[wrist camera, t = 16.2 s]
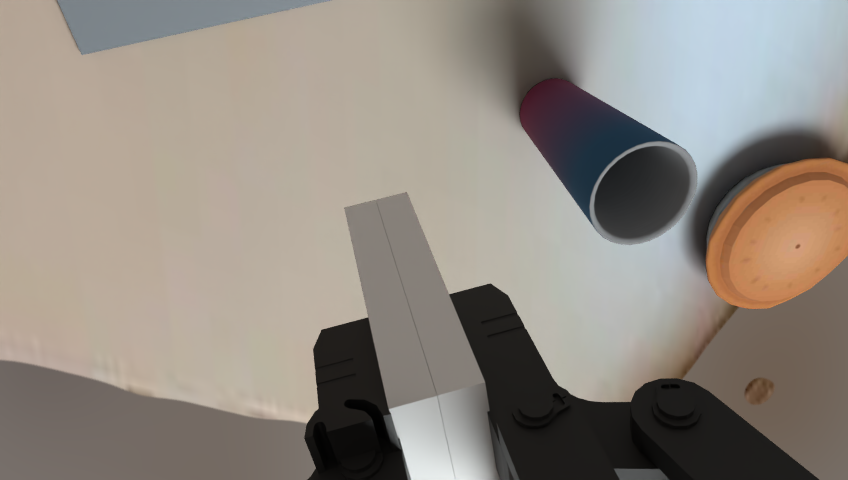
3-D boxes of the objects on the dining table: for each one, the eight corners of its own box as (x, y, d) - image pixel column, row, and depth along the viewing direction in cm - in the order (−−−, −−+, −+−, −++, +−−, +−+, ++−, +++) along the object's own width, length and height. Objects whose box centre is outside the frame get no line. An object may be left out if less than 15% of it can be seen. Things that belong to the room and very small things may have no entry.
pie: (654, 230, 60) (684, 260, 55) (796, 107, 56) (839, 128, 52) (732, 312, 67) (763, 343, 63) (861, 208, 63) (903, 234, 59)
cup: (597, 132, 53) (701, 220, 40) (519, 162, 53) (599, 260, 40) (583, 53, 49) (693, 123, 37) (499, 85, 49) (580, 167, 36)
